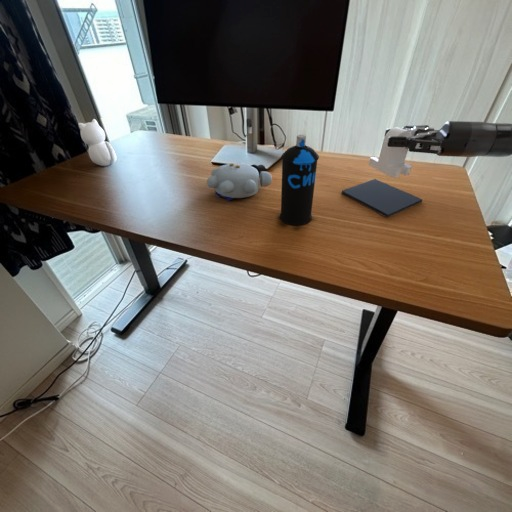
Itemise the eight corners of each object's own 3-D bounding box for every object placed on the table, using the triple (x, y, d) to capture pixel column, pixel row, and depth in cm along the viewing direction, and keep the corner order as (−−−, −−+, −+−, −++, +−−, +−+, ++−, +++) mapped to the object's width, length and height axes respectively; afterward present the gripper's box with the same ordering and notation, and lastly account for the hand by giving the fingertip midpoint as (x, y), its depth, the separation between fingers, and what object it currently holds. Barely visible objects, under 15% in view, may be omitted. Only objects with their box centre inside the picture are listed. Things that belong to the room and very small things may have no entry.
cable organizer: (393, 178, 67) (406, 135, 60) (367, 164, 74) (376, 125, 67) (410, 174, 68) (425, 132, 61) (383, 161, 75) (393, 122, 69)
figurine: (237, 210, 72) (282, 191, 84) (236, 179, 67) (285, 164, 79) (196, 192, 81) (243, 177, 93) (194, 163, 76) (243, 151, 88)
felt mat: (421, 201, 73) (422, 199, 73) (387, 217, 68) (388, 214, 67) (374, 181, 84) (374, 178, 83) (341, 193, 79) (341, 190, 78)
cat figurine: (106, 157, 109) (90, 116, 99) (128, 161, 104) (113, 119, 94) (86, 165, 103) (67, 122, 93) (108, 170, 98) (91, 126, 88)
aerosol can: (275, 212, 72) (276, 133, 59) (303, 206, 73) (310, 128, 60) (287, 228, 66) (291, 144, 53) (317, 222, 67) (328, 139, 54)
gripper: (461, 114, 65) (387, 113, 69) (484, 131, 55) (395, 129, 58) (448, 145, 70) (379, 143, 74) (467, 167, 60) (385, 163, 63)
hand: (386, 137), depth 66 cm, fingers closed on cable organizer, 5 cm apart
